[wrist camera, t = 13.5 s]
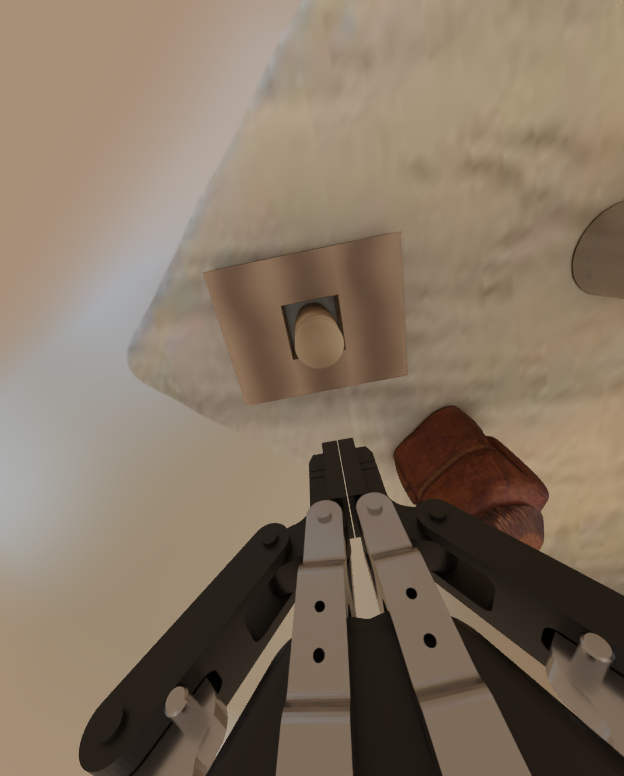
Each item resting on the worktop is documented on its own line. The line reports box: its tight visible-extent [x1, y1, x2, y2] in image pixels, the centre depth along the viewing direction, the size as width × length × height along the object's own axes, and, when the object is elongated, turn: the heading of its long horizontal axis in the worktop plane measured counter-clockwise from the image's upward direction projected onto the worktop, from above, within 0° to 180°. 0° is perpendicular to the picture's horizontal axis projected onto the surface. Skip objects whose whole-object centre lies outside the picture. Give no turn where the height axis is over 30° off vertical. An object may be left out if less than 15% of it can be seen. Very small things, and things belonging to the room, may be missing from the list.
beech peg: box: [295, 303, 344, 369], centre depth 28 cm, size 4×4×10 cm
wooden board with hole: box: [203, 232, 408, 406], centre depth 31 cm, size 18×14×4 cm
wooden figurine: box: [394, 407, 549, 551], centre depth 32 cm, size 12×6×18 cm, turn 142°
